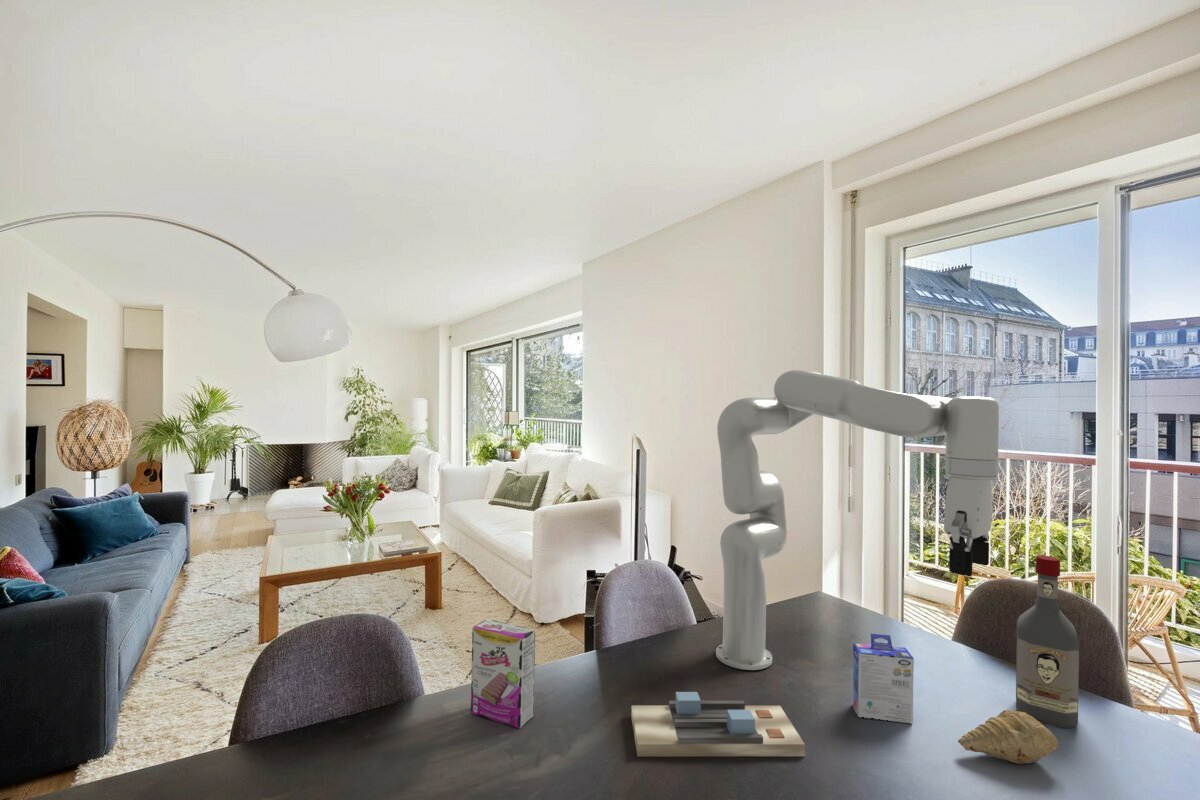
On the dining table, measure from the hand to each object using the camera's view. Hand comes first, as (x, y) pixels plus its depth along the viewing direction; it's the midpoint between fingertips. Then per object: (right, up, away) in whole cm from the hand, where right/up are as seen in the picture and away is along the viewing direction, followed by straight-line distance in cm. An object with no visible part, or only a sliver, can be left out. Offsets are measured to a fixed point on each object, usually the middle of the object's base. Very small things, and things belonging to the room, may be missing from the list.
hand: (969, 568), depth 97 cm
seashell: (+4, -31, -2) cm, 32 cm away
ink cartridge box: (-9, -31, +11) cm, 34 cm away
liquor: (+22, -32, +12) cm, 41 cm away
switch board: (-43, -30, +3) cm, 53 cm away
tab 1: (-47, -28, +6) cm, 55 cm away
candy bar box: (-81, -30, +8) cm, 87 cm away
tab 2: (-39, -28, 0) cm, 48 cm away
